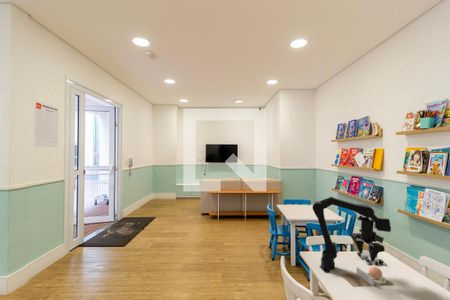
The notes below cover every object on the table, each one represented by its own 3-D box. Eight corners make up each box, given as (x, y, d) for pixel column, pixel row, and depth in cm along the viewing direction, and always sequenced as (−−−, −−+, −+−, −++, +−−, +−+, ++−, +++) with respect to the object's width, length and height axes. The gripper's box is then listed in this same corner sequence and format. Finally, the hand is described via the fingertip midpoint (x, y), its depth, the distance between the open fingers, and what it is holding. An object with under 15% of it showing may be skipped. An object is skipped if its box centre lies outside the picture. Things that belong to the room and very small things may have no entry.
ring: (373, 284, 116) (373, 282, 116) (361, 274, 125) (361, 272, 125) (390, 283, 117) (390, 281, 117) (377, 273, 126) (377, 272, 126)
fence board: (353, 288, 113) (353, 279, 114) (339, 275, 125) (339, 267, 125) (394, 286, 115) (394, 278, 115) (376, 274, 127) (376, 266, 127)
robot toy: (387, 269, 135) (373, 256, 150) (388, 262, 135) (373, 249, 150) (366, 268, 136) (354, 255, 151) (366, 261, 136) (354, 248, 151)
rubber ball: (374, 281, 118) (374, 270, 118) (366, 275, 124) (366, 264, 124) (385, 281, 118) (385, 270, 118) (376, 275, 124) (376, 264, 124)
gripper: (394, 235, 116) (394, 265, 115) (368, 223, 134) (368, 249, 134) (374, 235, 115) (373, 266, 115) (351, 223, 133) (350, 250, 133)
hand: (366, 257), depth 124 cm, fingers open, 9 cm apart
